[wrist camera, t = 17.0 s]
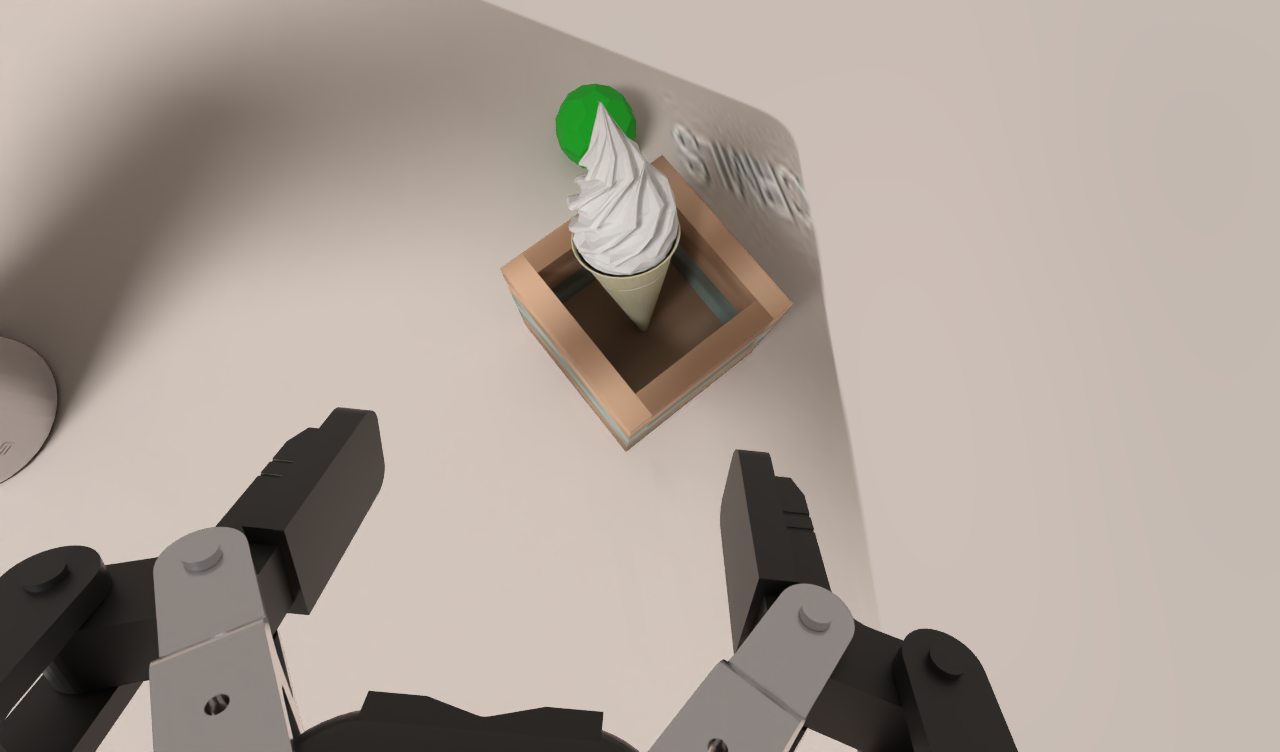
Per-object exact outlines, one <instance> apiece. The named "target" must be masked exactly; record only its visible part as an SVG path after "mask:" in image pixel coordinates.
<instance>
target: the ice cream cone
mask: <svg viewBox="0 0 1280 752" xmlns="http://www.w3.org/2000/svg"><path fill="white" fill-rule="evenodd" d="M598 102H599V101H598ZM579 165H580V166H584V167H587V169H588V173H585V174H582V175H579V176H577V177H576V178H575V180H574V181H573V182H575V183H576V184H578V185H579V186H580V189H581V191H580V194H578V195H573V196H568V197H567V199H566V204H567V206H568V208H569V209H570V210H578V213H579V216H576V217H572V218H571V221H570V224H569V231H571V232H572V238H571V244H572V250H573V252H574V254H575V257H576V258H577V259H578V261H579V262H580V264H582V265H583V266H584V267H585V268H586V269H587V270H589V271H591V273H592V274H593V275H594V276H595V277H596V278H597V280H598V281H599V282H600V283H601V285H602V286H603V287H604V288H605V289H606V291H607V292H608V293H609V294H610V295H611V296H612V298H613V299H614V300H615V301H616V302H617V303H618V305H619V306H620V307H621V308H622V309H623V310H624V312H625V313H626V314H627V315H628V316H629V317H630V319H631V320H632V321H633V322H634V323H635V324H636V326H637V327H638V328H639V329H640V330H641V331H646V330H647V329H648V326H649V323H650V320H651V317H652V314H653V311H654V308H655V305H656V302H657V299H658V296H659V293H660V290H661V287H662V284H663V281H664V278H665V275H666V272H667V269H668V266H669V263H670V259H671V256H672V255H673V253H674V251H675V250H676V248H677V245H678V243H679V239H680V234H681V233H680V224H679V220H678V216H677V209H676V203H675V196H674V193H673V191H672V189H671V186H670V184H669V182H668V179H667V177H666V175H664V174H663V173H662V172H660V171H659V170H658V169H656V168H655V167H653V166H652V165H651V164H649V163H648V162H647V161H646V160H645V159H644V157H643V156H642V154H641V152H640V149H639V146H638V144H637V143H635V142H634V141H632V140H631V139H629V138H628V137H627V136H626V135H625V134H624V132H623V131H622V130H621V128H620V127H619V126H618V125H617V123H616V122H615V121H614V119H613V118H612V117H611V115H610V114H609V113H608V112H607V110H606V109H605V107H604V105H603V104H602V102H600V103H599V106H598V110H597V114H596V119H595V123H594V128H593V132H592V136H591V141H590V145H589V148H588V151H587V152H586V154H585V155H584V156H583V157H582V159H581V160H580V162H579Z"/></svg>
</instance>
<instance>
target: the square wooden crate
mask: <svg viewBox="0 0 1280 752" xmlns="http://www.w3.org/2000/svg"><path fill="white" fill-rule="evenodd" d="M650 164H651V165H652V166H653V167H655V168H656V169H658V170H659V171H660V172H662V173H663V174H664V175H666V177H667V179H668V182H669V184H670V186H671V189H672V191H673V193H674V196H675V203H676V209H677V216H678V220H679V224H680V233H681V234H680V239H679V243H678V245H677V248H676V250H675V251H674V253H673V255H672V256H671V259H670V263H669V266H668V269H667V272H666V275H665V278H664V281H663V284H662V287H661V290H660V293H659V296H658V299H657V302H656V305H655V308H654V311H653V314H652V317H651V320H650V323H649V326H648V329H647V330H646V331H641V330H640V329H639V328H638V327H637V326H636V324H635V323H634V322H633V321H632V320H631V319H630V317H629V316H628V315H627V314H626V313H625V312H624V310H623V309H622V308H621V307H620V306H619V305H618V303H617V302H616V301H615V300H614V299H613V298H612V296H611V295H610V294H609V293H608V292H607V291H606V289H605V288H604V287H603V286H602V285H601V283H600V282H599V281H598V280H597V278H596V277H595V276H594V275H593V274H592V273H591V271H589V270H587V269H586V268H585V267H584V266H583V265H582V264H580V262H579V261H578V259H577V258H576V257H575V254H574V252H573V250H572V244H571V238H572V232H571V231H569V224H570V221H571V219H570V220H569V221H567V222H566V223H564V224H563V225H562V226H560V227H559V228H557V229H556V230H554V231H553V232H552V233H550V234H549V235H547V236H546V237H544V238H543V239H542V240H540V241H539V242H537V243H536V244H534V245H533V246H531V247H530V248H529V249H527V250H526V251H524V252H523V253H521V254H520V255H519V256H517V257H516V258H514V259H513V260H511V261H510V262H509V263H507V264H506V265H504V266H503V267H501V268H500V269H501V271H502V273H503V276H504V278H505V280H506V282H507V284H508V287H509V289H510V291H511V293H512V296H513V298H514V300H515V302H516V304H517V307H518V309H519V311H520V313H521V316H522V318H523V320H524V322H525V324H526V326H527V327H528V329H529V330H530V331H531V332H532V334H533V335H534V336H535V337H536V339H537V340H538V341H539V342H540V344H541V345H542V346H543V348H544V349H545V350H546V351H547V353H548V354H549V355H550V356H551V358H552V359H553V360H554V361H555V363H556V364H557V365H558V366H559V368H560V369H561V370H562V372H563V373H564V374H565V375H566V377H567V378H568V379H569V380H570V382H571V383H572V384H573V385H574V387H575V388H576V389H577V391H578V392H579V393H580V394H581V396H582V397H583V398H584V399H585V401H586V402H587V403H588V404H589V406H590V407H591V408H592V409H593V411H594V412H595V413H596V415H597V416H598V417H599V418H600V420H601V421H602V422H603V423H604V425H605V426H606V427H607V428H608V430H609V431H610V432H611V433H612V435H613V436H614V437H615V439H616V440H617V441H618V442H619V444H620V445H621V446H622V447H623V449H624V450H625V451H628V450H629V449H630V448H631V447H633V446H634V445H635V444H636V443H638V442H639V441H640V440H641V439H643V438H644V437H645V436H646V435H648V434H649V433H650V432H651V431H653V430H654V429H655V428H656V427H658V426H659V425H660V424H661V423H663V422H664V421H665V420H666V419H668V418H669V417H670V416H671V415H673V414H674V413H675V412H676V411H678V410H679V409H680V408H682V407H683V406H684V405H685V404H687V403H688V402H689V401H690V400H692V399H693V398H694V397H695V396H697V395H698V394H699V393H700V392H702V391H703V390H704V389H705V388H707V387H708V386H709V385H710V384H712V383H713V382H714V381H715V380H717V379H718V378H719V377H720V376H722V375H723V374H724V373H725V372H727V371H728V370H729V369H730V368H732V367H733V366H734V365H736V364H737V363H738V362H739V361H741V360H742V359H743V358H744V357H746V356H747V355H748V354H749V353H751V352H752V350H753V349H754V348H755V347H756V346H757V345H758V344H759V342H760V341H761V340H762V339H763V338H764V337H765V336H766V334H767V333H768V332H769V331H770V330H771V329H772V327H773V326H774V325H775V324H776V323H777V322H778V321H779V319H780V318H781V317H782V316H783V315H784V314H785V313H786V311H787V310H788V309H789V308H790V307H791V306H792V304H793V303H792V302H791V301H790V300H789V298H788V297H787V296H786V295H785V294H784V293H783V292H782V290H781V289H780V288H779V287H778V286H777V285H776V284H775V283H774V281H773V280H772V279H771V278H770V277H769V276H768V275H767V273H766V272H765V271H764V270H763V269H762V268H761V267H760V266H759V264H758V263H757V262H756V261H755V260H754V259H753V258H752V256H751V255H750V254H749V253H748V252H747V251H746V250H745V248H744V247H743V246H742V245H741V244H740V243H739V242H738V241H737V239H736V238H735V237H734V236H733V235H732V234H731V233H730V231H729V230H728V229H727V228H726V227H725V226H724V225H723V224H722V222H721V221H720V220H719V219H718V218H717V217H716V216H715V214H714V213H713V212H712V211H711V210H710V209H709V208H708V206H707V205H706V204H705V203H704V202H703V201H702V200H701V199H700V197H699V196H698V195H697V194H696V193H695V192H694V191H693V189H692V188H691V187H690V186H689V185H688V184H687V183H686V182H685V180H684V179H683V178H682V177H681V176H680V175H679V174H678V172H677V171H676V170H675V169H674V168H673V167H672V166H671V164H670V163H669V162H668V161H667V160H666V159H665V158H664V157H663V155H662V156H661V157H659V158H658V159H656V160H655V161H653V162H652V163H650ZM576 216H579V214H577V215H576ZM576 216H574V217H576Z"/></svg>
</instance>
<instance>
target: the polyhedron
mask: <svg viewBox="0 0 1280 752" xmlns="http://www.w3.org/2000/svg"><path fill="white" fill-rule="evenodd" d="M598 101H599V102H598ZM600 102H602V104H603V105H604V107H605V109H606V110H607V112H608V113H609V114H610V115H611V117H612V118H613V119H614V121H615V122H616V123H617V125H618V126H619V127H620V128H621V130H622V131H623V132H624V134H625V135H626V136H627V137H628V138H629V139H631V140H632V141H634V139H635V132H636V120H635V118H634V115H633V112H632V109H631V107H630V105H629V104H628V102H627V101H626V99H625V98H624V96H623V95H622V94H620V93H619V92H617V91H616V90H614V89H613V88H611V87H610V86H605V85H599V84H591V85H583V86H581V87H579V88H577V89H576V90H574V91H572V92H571V93H569V94H568V96H567V97H566V99H565V100H564V102H563V103H562V105H561V107H560V110H559V112H558V115H557V117H556V132H557V137H558V140H559V143H560V146H561V149H562V150H563V151H564V152H565V154H566V155H567V156H568V157H569V158H570V159H571V160H572V161H573V162H575V163H576V164H578V165H579V162H580V160H581V159H582V157H583V156H584V155H585V154H586V152H587V151H588V148H589V145H590V141H591V136H592V132H593V128H594V123H595V119H596V114H597V110H598V106H599V103H600ZM579 166H580V165H579ZM581 167H582V168H587V167H584V166H581Z"/></svg>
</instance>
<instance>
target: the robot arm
mask: <svg viewBox="0 0 1280 752" xmlns="http://www.w3.org/2000/svg"><path fill="white" fill-rule="evenodd" d="M56 408H57V389H56V383H55V380H54V377H53V374H52V371H51V370H50V368H49V367H48V365H47V364H46V362H45V361H44V359H43V358H42V357H41V356H40V355H38V354H37V353H36V352H35V351H34V350H33V349H32V348H30V347H28V346H26V345H24V344H22V343H20V342H18V341H15V340H11V339H8V338H5V337H1V336H0V482H2V481H4V480H6V479H8V478H10V477H11V476H12V475H14V474H15V473H16V472H17V471H19V470H20V469H21V468H23V467H24V466H25V465H26V464H27V463H28V462H29V461H30V460H31V459H32V458H33V456H34V455H35V454H36V453H37V452H38V451H39V449H40V448H41V446H42V445H43V443H44V441H45V440H46V438H47V436H48V435H49V432H50V430H51V427H52V424H53V422H54V419H55V414H56ZM384 471H385V464H384V457H383V451H382V444H381V438H380V431H379V425H378V419H377V415H376V413H375V412H374V411H370V410H360V409H351V408H341V407H338V408H336V409H334V410H333V411H332V413H331V414H330V415H329V416H328V418H327V419H326V420H325V421H324V423H323V424H322V425H321V427H320V428H307V429H306V430H304V431H303V432H301V433H300V434H298V435H296V436H295V437H293V438H292V439H290V440H288V441H287V442H286V443H285V444H284V446H283V447H282V448H281V449H280V450H279V451H278V453H277V454H276V455H275V456H274V457H273V461H272V462H269V463H268V465H267V466H266V467H265V468H264V469H263V471H262V472H261V476H258V477H257V478H256V479H255V480H254V481H253V483H252V484H251V485H250V486H249V487H248V488H247V490H246V491H245V492H244V493H243V494H242V496H241V497H240V498H239V499H238V500H237V502H236V503H235V504H234V505H233V506H232V508H231V509H230V510H229V511H228V512H227V514H226V515H225V516H224V517H223V518H222V520H221V521H220V522H219V523H218V524H217V525H216V527H212V528H206V529H202V530H198V531H196V532H193V533H190V534H188V535H186V536H184V537H182V538H180V539H178V540H177V541H175V542H174V543H172V544H171V545H170V546H168V547H167V548H166V549H165V550H164V551H163V552H162V553H161V554H160V556H159V557H156V558H151V559H144V560H137V561H130V562H124V563H117V564H110V565H104V563H103V561H102V559H101V557H100V555H99V554H98V553H97V552H96V551H95V550H93V549H92V548H89V547H85V546H64V547H59V548H54V549H50V550H47V551H44V552H41V553H39V554H36V555H34V556H32V557H29V558H27V559H25V560H24V561H22V562H20V563H18V564H17V565H15V566H14V567H12V568H11V569H9V570H8V571H7V572H6V573H5V574H3V575H2V576H1V577H0V752H95V751H96V750H97V748H98V747H99V745H100V744H101V742H102V741H103V739H104V738H105V736H106V735H107V734H108V732H109V731H110V729H111V728H112V726H113V725H114V723H115V722H116V720H117V719H118V717H119V716H120V715H121V713H122V712H123V710H124V709H125V707H126V706H127V704H128V703H129V701H130V700H131V699H132V697H133V696H134V694H135V693H136V691H137V690H138V688H139V687H140V685H141V684H142V682H143V681H147V680H150V697H151V715H152V732H153V749H154V752H639V751H638V750H637V749H635V748H634V747H632V746H631V745H630V744H628V743H627V742H626V741H624V740H622V739H620V738H618V737H617V736H615V735H613V734H610V733H608V732H605V731H603V730H602V722H603V712H597V711H586V710H574V709H563V708H552V707H543V708H537V709H531V710H525V711H519V712H513V713H507V714H501V715H496V716H490V717H481V716H477V715H475V714H472V713H469V712H467V711H464V710H462V709H459V708H456V707H454V706H451V705H449V704H446V703H443V702H441V701H438V700H436V699H433V698H430V697H428V696H420V695H409V694H397V693H386V692H375V691H369V692H368V694H367V697H366V699H365V701H364V704H363V706H362V709H361V710H360V711H355V712H351V713H347V714H344V715H340V716H337V717H334V718H332V719H329V720H327V721H324V722H322V723H320V724H318V725H316V726H314V727H312V728H310V729H308V730H307V731H304V728H303V725H302V721H301V718H300V714H299V710H298V706H297V702H296V698H295V694H294V690H293V686H292V682H291V678H290V674H289V670H288V666H287V662H286V657H285V653H284V649H283V645H282V641H281V637H280V633H279V631H278V627H279V625H280V623H281V622H282V620H283V619H284V617H285V615H286V614H287V613H293V614H304V615H309V614H310V612H311V611H312V609H313V607H314V605H315V604H316V602H317V600H318V598H319V597H320V595H321V593H322V591H323V590H324V588H325V586H326V584H327V583H328V581H329V579H330V577H331V576H332V574H333V572H334V570H335V568H336V567H337V565H338V563H339V561H340V560H341V558H342V556H343V554H344V553H345V551H346V549H347V547H348V546H349V544H350V542H351V540H352V539H353V537H354V535H355V533H356V532H357V530H358V528H359V526H360V525H361V523H362V521H363V519H364V517H365V516H366V514H367V512H368V510H369V509H370V507H371V505H372V503H373V502H374V500H375V498H376V496H377V495H378V493H379V491H380V489H381V486H382V483H383V478H384ZM720 527H721V537H722V546H723V555H724V565H725V574H726V584H727V593H728V602H729V612H730V621H731V630H732V640H733V649H734V656H733V657H732V658H731V659H730V660H729V661H728V662H727V661H726V660H722V661H720V662H719V663H718V664H717V665H716V666H715V667H714V668H713V670H712V671H711V672H710V673H709V675H708V676H707V677H706V678H705V680H704V681H703V682H702V683H701V685H700V686H699V687H698V689H697V690H696V691H695V692H694V694H693V695H692V696H691V697H690V699H689V700H688V701H687V703H686V704H685V705H684V706H683V708H682V709H681V710H680V711H679V713H678V714H677V715H676V717H675V718H674V719H673V720H672V722H671V723H670V724H669V725H668V727H667V728H666V729H665V731H664V732H663V733H662V734H661V736H660V737H659V738H658V739H657V741H656V742H655V743H654V745H653V746H652V747H651V748H650V750H649V751H648V752H795V751H796V750H797V748H798V746H799V744H800V743H801V741H802V739H803V737H804V736H805V734H806V732H807V730H808V729H812V730H814V731H816V732H819V733H821V734H823V735H825V736H828V737H830V738H832V739H835V740H837V741H839V742H842V743H844V744H846V745H848V746H851V747H853V748H855V749H857V750H858V752H1018V750H1017V748H1016V746H1015V744H1014V741H1013V738H1012V736H1011V733H1010V731H1009V729H1008V726H1007V724H1006V721H1005V719H1004V717H1003V714H1002V712H1001V709H1000V707H999V704H998V702H997V700H996V697H995V695H994V692H993V690H992V687H991V685H990V683H989V680H988V678H987V675H986V673H985V671H984V669H983V667H982V665H981V663H980V661H979V660H978V659H977V657H976V656H975V655H974V654H973V652H972V651H971V650H970V649H969V648H967V647H966V646H965V645H964V644H963V643H961V642H960V641H958V640H957V639H955V638H954V637H952V636H950V635H948V634H946V633H943V632H940V631H937V630H932V629H918V630H915V631H913V632H911V633H909V634H908V635H907V636H906V638H905V639H904V641H903V640H900V639H898V638H895V637H892V636H890V635H887V634H884V633H882V632H879V631H877V630H874V629H872V628H869V627H867V626H865V625H863V624H861V623H860V622H858V621H856V620H855V619H854V618H853V616H852V614H851V612H850V610H849V609H848V607H847V606H846V605H845V603H844V602H843V601H842V600H841V599H840V598H839V597H838V596H836V595H835V594H833V593H832V591H831V589H830V585H829V582H828V578H827V575H826V571H825V568H824V564H823V560H822V557H821V553H820V550H819V546H818V543H817V539H816V535H815V533H814V532H813V530H814V528H813V525H812V521H811V518H810V517H809V510H808V507H807V503H806V500H805V496H804V494H803V493H802V492H801V491H800V489H799V488H798V487H797V486H796V484H795V483H794V482H793V480H792V479H791V478H787V477H777V476H775V475H774V470H773V466H772V462H771V457H770V455H769V453H766V452H756V451H747V450H737V449H736V450H735V451H734V453H733V457H732V461H731V465H730V469H729V473H728V477H727V481H726V485H725V490H724V494H723V498H722V503H721V513H720ZM42 673H43V675H42V676H41V678H40V679H39V680H38V681H37V682H36V684H35V685H34V686H33V687H32V688H31V690H30V691H29V692H28V693H27V694H26V696H25V697H24V698H23V699H22V700H21V702H20V703H19V704H18V705H17V706H16V708H15V709H14V710H13V711H12V712H11V713H10V715H9V716H8V717H7V715H8V714H9V712H10V711H11V709H12V708H13V707H14V706H15V704H16V703H17V702H18V701H19V700H20V698H21V697H22V696H23V695H24V694H25V693H26V691H27V690H28V689H29V688H30V687H31V685H32V684H33V683H34V682H35V681H36V679H37V678H38V677H39V676H40V675H41V674H42ZM6 717H7V718H6Z"/></svg>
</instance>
